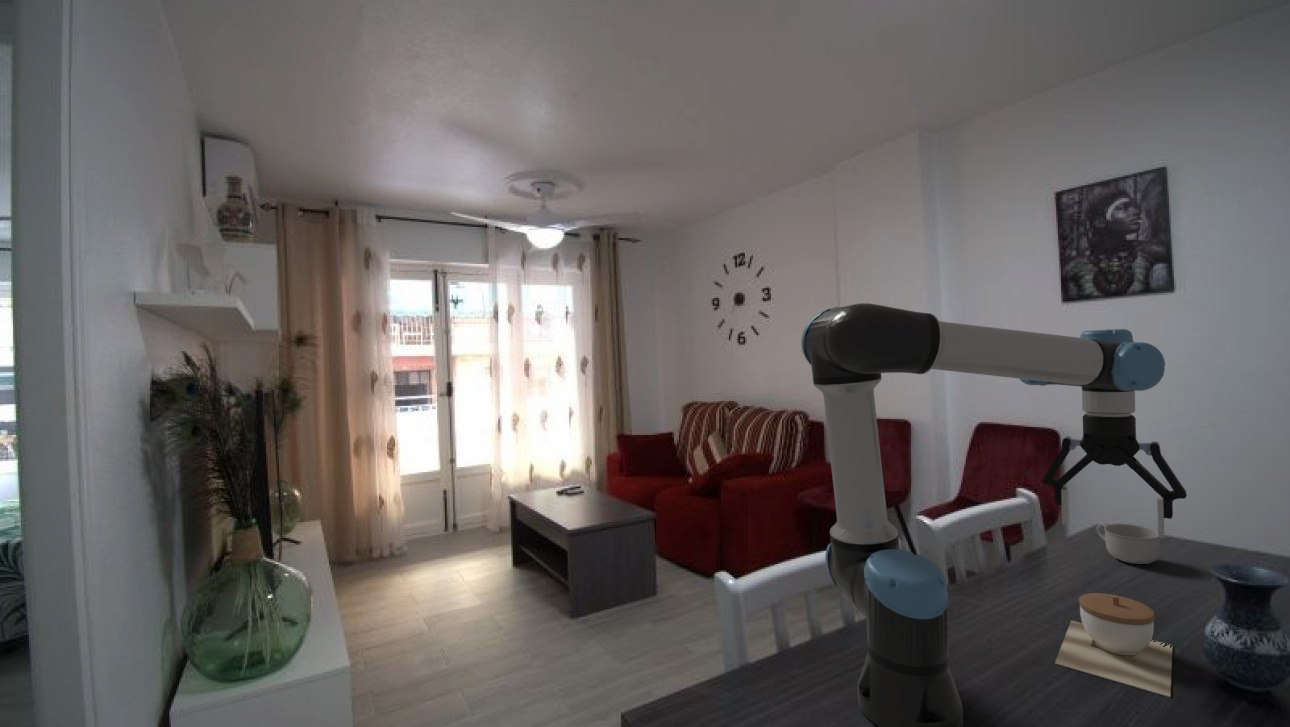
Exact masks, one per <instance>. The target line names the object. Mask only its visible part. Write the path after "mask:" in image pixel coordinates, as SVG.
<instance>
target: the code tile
mask: <svg viewBox="0 0 1290 727" xmlns="http://www.w3.org/2000/svg"><path fill="white" fill-rule="evenodd" d="M1153 641H1154V639H1152V641H1151V642H1150V643H1149V645H1148V646H1147V647H1146V648H1145V649H1143V650H1141V651H1139V652H1138V654H1136V655H1131V656H1127V655H1119V654H1115V653H1111V652H1109V651H1106V650H1104V649H1102V648H1100V647H1099V646H1097V645H1096V643H1095V641H1094V640H1093V639H1092V638H1091V637H1090V636H1089V635H1088V634H1087V632H1086V631H1085V629H1084V627H1083V624H1082V622H1079V621H1075V620H1070V623H1069V626H1068V628H1067V630H1066V633H1065V636H1064V638H1063V641H1062V644H1061V646H1060V648H1059V651H1058V654H1057V656H1056V658H1055V662H1054V665H1058V666H1061V667H1065V668H1067V669H1072V670H1073V671H1074V670H1075V671H1078V672H1080V673H1081V672H1082V673H1085V674H1088V675H1090V676H1091V675H1092V676H1096V677H1099V678H1101V679H1105V680H1109V681H1112V682H1116V683H1118V684H1123V685H1125V686H1130V687H1132V688H1135V689H1139V690H1143V691H1146V692H1149V693H1153V694H1156V695H1160V696H1163V697H1167V698H1171V693H1172V691H1171V688H1172V668H1173V667H1172V666H1173V663H1172V662H1173V646H1172V647H1171V648H1170V645H1171V644H1169V643H1168V644H1169V645H1167V646H1165V647H1163V646H1164V645H1165V642H1162V641H1157V640H1155V641H1156V642H1153ZM1161 643H1163V644H1161ZM1160 644H1161V645H1160Z"/></svg>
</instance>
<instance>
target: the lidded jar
mask: <svg viewBox="0 0 1290 727" xmlns="http://www.w3.org/2000/svg"><path fill="white" fill-rule="evenodd" d="M1078 604H1079V614H1080V620H1081V623H1082V624H1083V627H1084V629H1085V631H1086V632H1087V634H1088V635H1089V636H1090V637H1091V638H1092V639H1093V640H1094V641H1095V643H1096V645H1097V646H1099V647H1100V648H1102V649H1104V650H1106V651H1109V652H1111V653H1115V654H1119V655H1127V656H1131V655H1136V654H1138V652H1139V651H1141V650H1143V649H1145V648H1146V647H1147V646H1148V645H1149V643H1150V642H1151V640H1153V635H1154V629H1155V621H1156V620H1155V619H1156V617H1155V616H1156V614H1155V611H1154V610H1153V609H1152V608H1151V607H1149V606H1148V605H1146V604H1144V603H1142V602H1140V601H1137V600H1135V599H1131V598H1129V597H1126V596H1120V595H1117V594H1116V595H1115V594H1112V593H1111V594H1110V593H1100V592H1099V593H1098V592H1092V593H1091V592H1090V593H1085V594H1082V595H1081V596H1080V597H1079V598H1078Z"/></svg>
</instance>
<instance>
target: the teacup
mask: <svg viewBox="0 0 1290 727" xmlns="http://www.w3.org/2000/svg"><path fill="white" fill-rule="evenodd" d="M1096 532H1097V534H1098V536H1099V537H1100V538H1101V539H1102V540H1103V541H1104V542H1105V548H1106V550H1107V552H1108V553H1109V555H1111V556H1112V557H1113V558H1115V559H1116V558H1117V559H1119V560H1121V561H1125V562H1129V563H1137V564H1148V563H1150V564H1151V563H1153V562H1155V561H1157V560H1158V559H1159V557H1160V556H1161V555H1160V554H1161V538H1159V537H1158V530H1155V529H1153V528H1150V527H1147V526H1143V525H1139V524H1133V523H1132V524H1130V523H1112V524H1110V523H1107V522H1100V523H1098V524H1097V526H1096ZM1117 559H1116V560H1117ZM1119 560H1118V561H1119ZM1121 561H1120V562H1121ZM1148 565H1149V564H1148Z"/></svg>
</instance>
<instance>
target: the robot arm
mask: <svg viewBox="0 0 1290 727" xmlns="http://www.w3.org/2000/svg"><path fill="white" fill-rule="evenodd" d="M800 342H801V344H800V346H801V351H802V354H803V356H804V358H805V359H806V361H807V362H808V364H810V366H811V373H812V381H813V382H812V383H813V387H815V388H817V389H818V390H819V391H820V392H821V393H822V395H823V404H824V412H825V421H826V422H825V423H826V429H827V432H826V433H827V440H828V449H829V458H830V459H829V460H830V466H831V475H832V476H831V477H832V484H833V486H832V487H833V493H834V502H835V512H836V513H835V514H836V522H835V524H834V525H832V526H831V528H830V530H829V535H830V543H828V545H827V547H826V550H825V559H824V560H825V561H824V562H825V566H826V567H825V568H826V570H827V573H828V576H829V577H830V579H831V581H832V582H833V583H834V585H835V586H836V588H837V589H838V590H839V592H840V593H842V594H843V595H844V596H845V597H846V598H847V599H848V600H849V601H850V602H851V603H852V604H853V606H854V607H855V608H857V610H858V611H859V612H860V613H861V614H862V615H863V616H864V618H865V620H866V636H867V638H866V640H867V654H866V659H865V660H864V664H863V667H862V669H861V673H860V676H859V677H858V678H859V679H858V681H857V687H856V689H857V690H856V692H857V705H858V707H859V709H860V711H861V712H862V714H863V715H864V716H865V717H866V718H867V719H868V720H869V721H871V723H873V724H874V725H876V726H877V727H963V726H964V708H963V702H962V701H961V696H960V694H959V691H958V688H957V686H956V684H955V681H954V678H953V675H952V673H951V670H950V665H949V660H950V659H949V610H948V608H949V607H948V606H949V600H950V598H949V591H948V588H947V586H948V585H947V580H946V576H945V574H944V573H943V571H942V569H941V568H940V567H939V565H938V564H936V563H935V562H934V561H932V560H931V559H929V558H927V557H925V556H923V555H921V554H914V552H911V551H907V550H904V549H901V548H900V539H899V538H900V537H899V530H898V529H897V527H896V526H894V525H893V524H892V523H891V522H889V520H888V512H887V504H886V494H885V485H884V476H883V468H882V467H883V466H882V456H881V447H880V438H879V437H880V436H879V428H878V419H877V409H876V400H875V399H876V398H875V392H874V390H875V388H876V387H877V385H879V384H880V383H881V381H882V380H883V379H882V378H883V377H882V374H887V373H888V374H889V373H891V374H892V373H893V374H894V373H897V374H898V373H901V374H902V373H904V374H906V373H907V374H917V375H925V374H928V373H929V372H930V371H931V370H937V371H938V370H939V371H945V372H946V371H948V372H955V373H965V374H974V375H982V376H983V375H984V376H991V377H992V376H993V377H1001V378H1013V379H1019V380H1020V381H1021V382H1022V383H1024V384H1025V385H1027V386H1041V387H1045V386H1049V385H1052V386H1054V385H1058V386H1069V387H1070V386H1072V387H1081V403H1082V404H1081V408H1082V411H1083V412H1085V413H1084V414H1083V415H1082V438H1081V439H1078V438H1072V437H1070V436H1065V437H1064V438H1063V439H1062V441H1061V448H1060V451H1059V452H1058V455H1057V456H1056V458H1055V459H1054V460H1053V461H1052V464H1051V466H1050V467H1049V468H1048V470H1047V472H1046V474H1045V476H1044V477H1043V479H1042V483H1043V484H1044V485H1048V486H1051V487H1052V488H1053V490H1054V494H1053V495H1054V503H1055V505H1057V506H1061V523H1062V524H1063V525H1068V523H1069V521H1070V512H1069V509H1070V507H1069V487H1068V486H1066V484H1067V483H1069V481H1070V480H1072V479H1073V478H1075V477H1076V475H1078V473H1080V472H1081V471H1082V470H1084V469H1085V468H1086V467H1087V466H1088V465H1089V464H1091V463H1092V462H1094V463H1096V464H1098V465H1102V466H1103V465H1111V466H1116V467H1121V466H1124V465H1127V466H1128V467H1129V468H1130V469H1131V470H1132V471H1134V472H1135V473H1136V474H1137V475H1138V476H1139V477H1140V478H1141V479H1142V480H1143V481H1144V482H1145V483H1146V484H1147V485H1148V486H1149V487H1150V488H1152V490H1153V491H1155V492H1156V493H1157V494H1158V495H1159V496H1157V531H1158V537H1159V538H1160V539H1165V519H1169V520H1172V518H1173V515H1174V514H1173V513H1174V510H1173V502H1174V501H1175V500H1178V499H1181V500H1183V499H1186V498H1187V490H1186V489H1185V487H1184V486H1183V485H1182V483H1181V481H1180V480H1179V479H1178V477H1177V476H1176V474H1175V473H1174V471H1173V469H1172V468H1171V467H1170V465H1169V463H1168V462H1167V461H1166V459H1165V457H1164V456H1163V454H1162V453H1161V446H1160V443H1159V442H1158V441H1151V442H1142V443H1139V441H1138V440H1137V425H1136V424H1137V422H1136V421H1137V420H1136V417H1135V416H1134V415H1133V413H1135V412H1136V391H1138V392H1140V391H1141V392H1142V391H1147V390H1149V389H1153V388H1154V387H1156V386H1157V385H1158V384H1159V383H1160V382H1161V380H1162V379H1163V377H1164V374H1165V370H1166V369H1165V367H1166V362H1165V361H1166V360H1165V357H1164V355H1163V353H1162V352H1161V351H1160V350H1159V349H1158V348H1157V347H1156V346H1155V345H1153V344H1150V343H1148V342H1141V341H1140V342H1139V341H1137V342H1136V341H1134V336H1133V333H1132V332H1131V331H1130V330H1128V329H1126V328H1119V329H1118V328H1117V329H1116V328H1115V329H1114V328H1113V329H1095V330H1083V331H1081V333H1080V337H1077V336H1069V335H1061V334H1052V333H1043V332H1033V331H1026V330H1018V329H1009V328H999V327H990V326H983V325H974V324H965V323H957V322H948V321H940V320H939V319H938V317H937V316H936V315H935V314H933V313H929V312H922V311H913V310H908V309H902V308H898V307H891V306H886V305H881V304H876V303H866V302H865V303H855V304H850V305H846V306H840V307H839V306H837V307H836V306H835V307H832V308H827V309H826V310H823V311H822V312H820V313H818V314H816V315H815V316H813V318H811V319H810V321H808V322H807V325H806V326H805V327H804V329H803V331H802V335H801V341H800ZM1078 446H1080V449H1082V450H1083V451H1084V453H1085V455H1084V456H1083V457H1081V459H1080V460H1078V462H1076V463H1075V464H1074V465H1073V466H1072V467H1070V468H1069V469H1068V470H1067V471H1066V472H1065V473H1064V474H1063V475H1062V476H1060V477H1059V478H1058V479H1057V478H1054V477H1055V476H1056V474H1057V473H1058V471H1059V469H1060V468H1061V467H1062V464H1063V463H1064V461H1066V458H1067V457H1068V454H1070V451H1073V450H1076V447H1078ZM1139 451H1144V453H1145V454H1146V455H1147V456H1151V458H1152V460H1153V461H1154V463H1155V465H1156V466H1157V468H1158V469H1159V472H1160V473H1161V474H1162V475H1163V477H1164V478H1165V480H1166V481H1167V483H1168V484H1169V486H1170V488H1171V489H1172V490H1169V489H1168V488H1167V487H1166V486H1165V485H1164V484H1163V483H1162V482H1161V481H1160V480H1158V479H1157V478H1156V477H1155V476H1154V475H1153V474H1152V473H1151V472H1150V471H1149V470H1148V469H1146V467H1145V466H1144V465H1142V463H1141V462H1140V461H1139V460H1138V458H1136V457H1135V455H1136V454H1137V453H1138V452H1139Z"/></svg>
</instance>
